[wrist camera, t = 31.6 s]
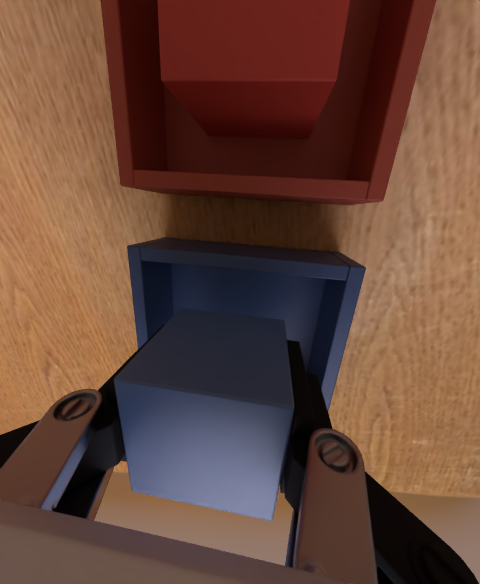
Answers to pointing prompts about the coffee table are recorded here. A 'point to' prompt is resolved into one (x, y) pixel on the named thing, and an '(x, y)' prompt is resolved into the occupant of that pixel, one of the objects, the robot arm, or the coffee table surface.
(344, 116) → the red bin
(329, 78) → the red block
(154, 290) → the blue bin
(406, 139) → the coffee table surface
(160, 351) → the blue block
